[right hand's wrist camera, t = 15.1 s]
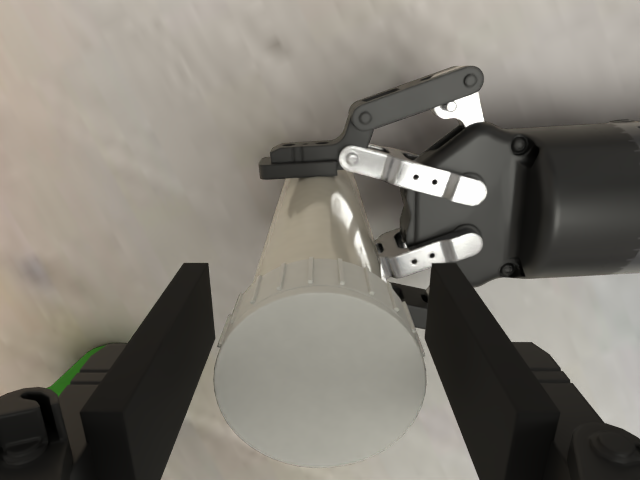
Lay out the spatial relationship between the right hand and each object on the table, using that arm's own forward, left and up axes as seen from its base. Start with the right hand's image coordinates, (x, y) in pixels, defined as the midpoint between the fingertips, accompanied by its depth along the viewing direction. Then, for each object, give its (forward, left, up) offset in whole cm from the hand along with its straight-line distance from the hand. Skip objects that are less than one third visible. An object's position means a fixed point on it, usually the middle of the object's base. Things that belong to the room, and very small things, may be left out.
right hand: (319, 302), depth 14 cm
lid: (0, 0, +4) cm, 4 cm away
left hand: (-3, 0, -9) cm, 10 cm away
